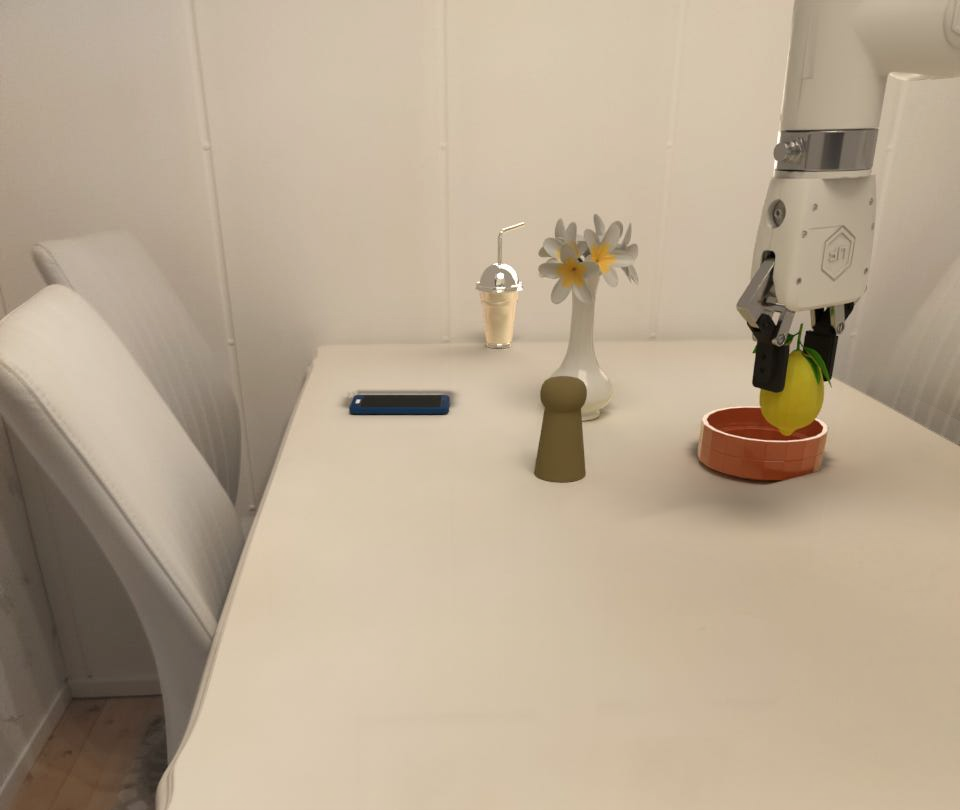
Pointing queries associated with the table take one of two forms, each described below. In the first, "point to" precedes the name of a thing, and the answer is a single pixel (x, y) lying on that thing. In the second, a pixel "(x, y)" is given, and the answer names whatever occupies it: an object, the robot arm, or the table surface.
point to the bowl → (759, 445)
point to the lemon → (796, 390)
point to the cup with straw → (499, 298)
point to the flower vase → (586, 296)
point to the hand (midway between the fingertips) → (791, 381)
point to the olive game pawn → (561, 430)
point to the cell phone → (400, 404)
